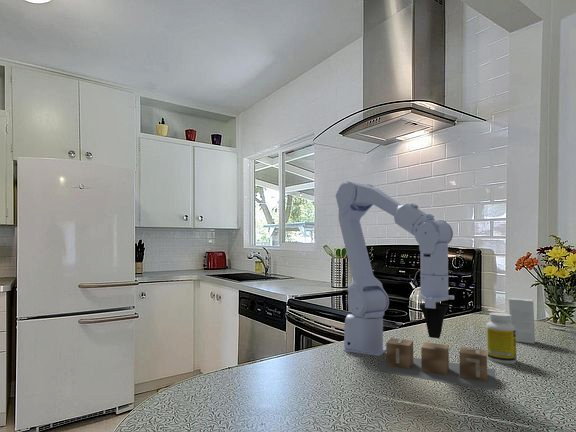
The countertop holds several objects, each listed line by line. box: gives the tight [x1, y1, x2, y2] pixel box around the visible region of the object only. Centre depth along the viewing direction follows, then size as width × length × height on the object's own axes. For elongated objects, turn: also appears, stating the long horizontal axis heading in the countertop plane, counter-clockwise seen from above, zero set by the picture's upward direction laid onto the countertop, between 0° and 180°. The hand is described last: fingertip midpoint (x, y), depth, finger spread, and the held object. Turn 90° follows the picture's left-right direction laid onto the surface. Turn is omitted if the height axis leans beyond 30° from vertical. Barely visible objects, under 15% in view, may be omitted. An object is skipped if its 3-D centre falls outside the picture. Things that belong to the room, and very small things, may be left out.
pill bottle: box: [485, 312, 517, 365], centre depth 91 cm, size 6×6×11 cm
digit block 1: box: [385, 337, 414, 369], centre depth 86 cm, size 5×5×5 cm
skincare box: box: [508, 297, 536, 345], centre depth 111 cm, size 6×4×12 cm
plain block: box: [420, 341, 450, 375], centre depth 83 cm, size 5×5×5 cm
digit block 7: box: [458, 346, 488, 382], centre depth 80 cm, size 5×5×5 cm
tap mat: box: [373, 356, 497, 392], centre depth 83 cm, size 23×14×1 cm, turn 62°
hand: (434, 337), depth 83 cm, fingers closed
